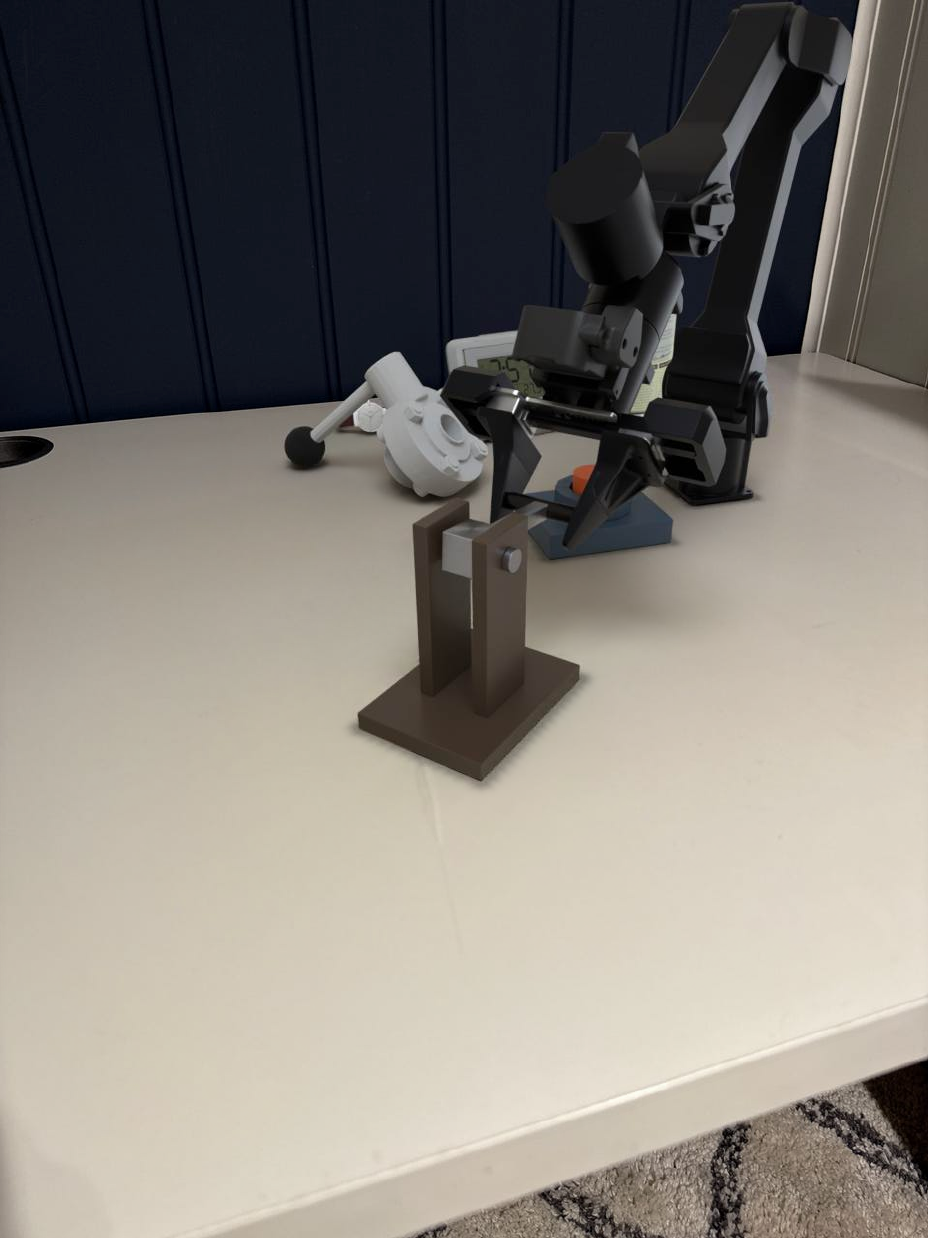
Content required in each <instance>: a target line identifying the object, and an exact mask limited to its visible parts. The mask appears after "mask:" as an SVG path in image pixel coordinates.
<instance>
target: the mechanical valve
mask: <svg viewBox="0 0 928 1238" xmlns="http://www.w3.org/2000/svg"><path fill="white" fill-rule="evenodd" d="M364 379H365V381H364V383H362V385H360V386H359V387H358V388H357V389H355V391H354V392H352V393H351V394H350V395H349V396H348V397H347V398H346V399H345V400H344V401H343V402H341V404H339V405H338V406H337V407H336V408H335V409H334V410H333V411H332V412H331V413H330V414H328V415H327V417H325V418H324V419H323V420H322V421H320V423H318V425H317V426H315V427H311V426H308V425H307V426H306V425H301V426H297V427H295V428H293V429H291V430H290V431H289V433H288V434H287V435H286V437H285V440H284V445H283V447H284V452H285V456H286V457H287V458H288V460H289V461H290V462H291V463H292V464H294V465H295V466H298V467H300V468H311V467H313V466H316V465H317V464H318V463H320V462H321V461H322V459H323V458H324V455H325V453H326V441H325V439H327V438H328V437H329V436H330V435H331V434H332V433H333V432H334V431H336V429H337V428H339V427H338V426H340V425H341V424H342V423H343V422H344V421H345V420H346V419H347V418H349V417H350V416H351V415H352V414H353V413H354V412H355V411H356V410H358V409H359V408H360V407H361V406H362V405H363V404H365V403H368V402H367V401H368V400H371V398H373V396H376V397H377V398H378V400H379V401H380V403H381V404H382V406H383V407H385V408H386V411H385V413H384V416H383V420H382V426H381V427H380V428H379V429H377V431H376V436H377V438H378V439H379V441H380V442H381V443H383V444H385V447H384V448H383V461H384V464H385V466H386V468H387V470H388V472H389V473H390V475H391V476H392V477H393V478H394V480H396V481H397V482H398V483H399V484H401V485H402V486H404V487H406V488H409V489H413V491H414V492H415V493H416V494H417V496H419V497H425V496H427V495H428V494H431V495H435V496H438V497H444V498H445V497H451V496H453V495H456V493H458V492H460V491H461V490H462V489H464V488H465V487H467V486H468V485H469V484H470V483H472V482H473V481H474V480H476V479H477V478H478V477H479V476H480V475H481V473H482V472H483V467H484V459H485V458H486V457H488V454H489V448H488V446H487V445H486V444H485V442H484V440H483V441H481V440H478V438H477V437H475V436H473V435H472V434H470V433H468V431H467V430H466V429H465V428H464V426H463V425H462V424H461V423H460V421H459V420H458V419H457V417H456V416H455V415H454V414H453V412H452V411H451V410H450V409H449V407H448V406H447V405H446V403H445V402H444V401H443V400H442V398H441V397H440V393H441V391H442V389H443V387H441V388H440V389H438V390H436V389H433V388H431V387H429V386H424V385H423V384H422V382H421V381H420V379H419V378H418V376H417V375H416V374H415V372H414V371H413V369H412V368H411V366H410V364H408V362H407V360H406V359H405V357H404V356H403V355H402V353H401V352H400V351H393V352H391V353H389V354H387V355H385V356H383V357H382V358H380V359H379V360H378V361H376V362H375V363H374V364H372V365H371V366H370V367H369V368H368V369H367V370H366V372H365V374H364Z"/></svg>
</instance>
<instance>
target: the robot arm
mask: <svg viewBox="0 0 928 1238" xmlns="http://www.w3.org/2000/svg"><path fill="white" fill-rule="evenodd" d="M723 35H724V36H723V39H722V42H721V43H720V45H719V47H718V48H717V50H716V52H715V54H714V56H713V57H712V59H711V61H710V63H709V64H708V66H707V68H706V70H705V72H704V73H703V75H702V77H701V78H700V81H699V82H698V85H697V86H696V88H695V90H694V91H693V93H692V95H691V96H690V98H689V100H688V103H687V104H686V105H685V108H684V109H683V110H682V113H681V114H680V117H678V120H677V121H676V124H675V125H674V126H673V128H672V129H671V130H670V131H669V132H667V133H665V134H663V135H662V136H660V137H658V138H656V139H654V140H652V141H651V142H649V143H647V144H645V145H643V146H642V147H641V149H639V148H638V143H637V139H636V135H635V133H634V132H623V131H622V132H621V131H620V132H617V131H616V132H612V131H610V132H609V131H607V132H606V131H603V132H602V133H601V135H600V137H599V140H598V142H597V145H595V146H592V147H590V148H588V149H585V150H583V151H581V152H579V153H578V154H576V155H574V156H573V157H571V158H570V159H569V160H568V161H566V162H565V163H564V164H563V165H562V166H561V167H560V168H559V170H557V171H555V172H553V173H552V175H551V177H550V178H549V181H548V183H547V187H546V191H545V201H546V205H547V208H548V211H549V213H550V215H551V217H552V220H553V222H554V224H555V227H556V229H557V231H558V234H559V235H560V238H561V240H562V242H563V243H562V244H563V245H564V247H565V250H566V252H567V254H568V257H569V258H570V261H571V263H572V266H573V268H574V270H575V272H576V274H577V275H578V276H579V277H580V278H581V279H583V280H584V281H585V282H587V283H589V284H591V283H592V285H591V287H590V290H589V291H588V292H587V294H586V297H585V299H584V301H583V303H582V306H581V308H580V310H574V309H565V308H557V307H550V306H542V305H541V306H540V305H533V304H526V305H523V308H522V313H521V316H520V319H519V324H518V328H517V330H518V332H517V336H516V340H515V344H514V349H513V353H512V357H511V358H512V359H513V360H515V361H517V362H520V361H521V360H522V361H523V362H525V363H527V364H529V365H531V366H533V367H534V370H533V372H532V374H531V376H530V377H531V379H532V380H533V382H534V384H535V385H536V387H541V388H543V389H544V391H545V392H544V395H543V397H542V399H541V398H536V397H530V396H525V395H524V394H523V393H521V392H519V391H517V390H516V388H515V386H514V385H513V383H512V382H511V380H510V379H509V377H508V376H507V374H506V372H502V371H496V370H490V369H484V368H478V367H472V366H466V365H463V366H461V367H458V368H455V369H453V370H452V372H451V373H450V374H449V373H448V376H447V378H446V380H445V383H444V385H443V387H442V388H443V389H442V388H441V389H442V391H441V393H440V397H441V398H442V400H443V401H444V402H445V403H446V405H447V406H448V407H449V409H450V410H451V411H452V412H453V414H454V415H455V416H456V417H457V419H458V420H459V421H460V423H461V424H462V425H463V426H464V428H465V429H466V430H467V431H468V433H470V434H472V435H473V436H475V437H477V438H481V439H485V440H484V441H489V440H490V441H489V442H491V441H492V442H491V443H492V460H493V462H492V463H493V466H492V467H493V468H492V484H491V499H490V512H489V524H492V523H494V522H496V521H498V520H499V519H501V518H503V517H505V516H507V515H509V514H511V513H513V512H515V511H513V510H509V509H507V507H506V499H507V496H508V494H509V493H510V492H517V493H521V494H524V492H525V491H526V488H527V486H528V485H529V482H530V481H531V479H532V477H533V475H534V473H535V471H536V469H537V468H538V465H539V463H540V461H541V460H542V457H543V456H542V454H541V453H540V451H539V450H538V448H537V447H536V445H535V444H534V442H533V441H532V440H533V438H534V435H536V434H535V432H536V429H537V428H540V429H545V430H550V431H551V432H555V433H561V434H566V435H570V436H575V437H582V438H586V439H591V440H597V441H599V444H598V450H597V456H596V461H595V464H594V465H595V467H594V469H593V471H592V473H591V475H590V478H589V480H588V482H587V484H586V486H585V488H584V490H583V492H582V495H581V497H580V499H579V501H578V503H577V505H576V507H575V509H574V512H573V514H572V516H571V518H570V520H569V523H568V525H567V528H566V532H565V535H564V538H563V541H562V546H563V547H564V548H565V550H567V551H572V550H574V549H575V548H576V547H577V546H578V545H579V544H580V543H581V542H582V541H583V540H584V539H586V538H587V537H588V536H589V535H590V534H591V533H592V532H593V531H594V530H595V529H596V528H598V527H599V526H600V525H601V524H602V523H603V522H604V521H605V520H606V519H607V518H608V517H610V516H611V515H612V514H613V513H614V512H615V511H616V510H618V509H619V508H620V507H622V506H623V505H624V504H626V503H627V502H628V501H630V500H631V499H632V498H634V497H635V496H636V495H638V494H639V493H641V492H643V491H645V490H646V489H648V488H650V487H653V488H662V487H663V485H664V484H666V485H667V486H668V487H670V488H671V489H672V490H673V491H675V493H677V494H678V495H679V496H681V497H682V498H683V499H684V500H686V501H687V502H688V503H689V504H691V505H704V504H711V503H718V502H719V503H720V502H724V501H725V502H727V501H734V500H741V499H749V498H750V499H751V498H753V497H754V494H755V492H754V490H753V489H751V488H750V487H748V486H747V485H746V484H747V483H746V482H747V476H748V469H749V463H750V456H751V450H752V444H753V443H752V442H754V441H755V440H756V439H764V438H765V439H766V438H768V436H769V433H770V426H771V420H772V411H773V408H774V407H773V405H774V404H773V399H772V396H771V391H770V386H769V381H768V376H767V374H766V372H765V370H766V365H767V360H768V355H767V352H766V349H765V345H764V342H763V339H762V336H761V332H760V330H759V327H758V321H759V315H760V311H761V308H762V304H763V300H764V296H765V292H766V288H767V284H768V279H769V275H770V272H771V268H772V263H773V260H774V257H775V252H776V248H777V243H778V239H779V236H780V232H781V227H782V224H783V221H784V216H785V211H786V208H787V205H788V200H789V196H790V193H791V189H792V184H793V181H794V177H795V172H796V168H797V164H798V162H799V161H798V160H799V157H800V154H801V153H800V152H801V149H802V146H804V144H805V143H806V142H807V141H808V139H810V137H811V136H812V135H813V134H814V133H815V132H816V130H817V129H818V128H819V127H820V126H821V125H822V124H823V122H825V120H826V119H827V118H828V117H829V115H830V114H831V110H832V107H833V105H834V100H835V98H836V94H837V91H838V88H839V86H841V85H843V84H844V83H845V81H846V78H847V76H848V73H849V70H850V66H851V59H852V54H853V53H852V52H853V37H852V34H851V33H850V31H849V30H848V29H847V28H846V27H845V25H844V24H843V23H842V22H841V21H840V19H839V18H838V17H826V16H823V15H819V14H815V13H812V12H809V11H808V10H807V9H806V8H805V7H804V6H803V5H801V4H799V5H795V3H794V2H793V1H784V2H780V1H779V2H765V3H750V4H747V3H746V4H742V5H741V6H740V8H733V9H732V10H731V12H729V15H728V17H727V19H726V24H725V28H724V33H723ZM740 152H741V154H740ZM739 154H740V158H739V161H738V166H737V170H736V175H735V179H734V183H733V186H732V185H731V175H730V173H731V171H732V168H733V167H734V164H735V162H736V160H737V158H738V156H739ZM718 242H719V247H718V250H717V254H716V259H715V263H714V266H713V267H714V268H713V271H712V275H711V280H710V284H709V288H708V293H707V296H706V299H705V305H704V308H703V311H702V313H701V314H699V316H698V317H697V318H696V319H695V321H693V322H692V324H691V325H690V326H689V325H684V326H682V327H681V328H680V330H679V331H678V333H677V334H676V335H675V340H674V347H673V356H672V360H671V362H669V364H668V366H667V368H666V370H665V373H664V376H663V381H662V398H659V397H657V398H656V399H654V400H652V401H651V402H649V404H648V406H647V409H646V411H645V413H644V416H643V417H642V416H637V415H631V414H630V412H631V409H632V407H633V404H634V402H635V400H636V397H637V395H638V392H639V390H640V388H641V385H642V384H647V385H650V384H651V381H652V379H653V376H654V374H655V370H654V368H653V365H652V362H651V361H652V359H653V356H654V354H655V352H656V349H657V347H658V344H659V342H660V340H661V337H662V335H663V332H664V330H665V328H666V325H667V323H668V320H669V318H670V316H671V314H676V315H677V316H679V315H681V313H682V311H683V308H684V307H683V306H684V297H683V293H682V289H683V288H684V284H685V283H684V282H685V281H684V276H683V274H682V269H681V267H680V265H679V263H678V261H677V260H676V259H675V257H674V256H679V257H691V258H692V257H693V258H702V257H703V258H705V257H707V256H709V255H710V254H711V253H712V252H713V250H714V249H715V247H716V246H717V243H718ZM533 434H534V435H533ZM664 470H665V471H666V473H667V474H665V475H664V474H663V473H664Z"/></svg>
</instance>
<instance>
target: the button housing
mask: <svg viewBox="0 0 928 1238" xmlns="http://www.w3.org/2000/svg"><path fill="white" fill-rule="evenodd" d="M572 489H573V474H570V475H568V476H565V477H563V478H561V479H559V480H557V482H556V484H555V486H554V489H552V490H550V489H549V490H543V491H534V492H527V493H526V492H525V493H524V494H525V495H529V496H533V497H537V498H542V499H546V500H550V501H554V502H558V503H562V504H567V505H571V506H575V507H576V505H577V503H578V501H579V499H580V497H581V495H579V494H577V493H574V492H573V490H572ZM673 524H674V519H673V517H671V516H670V515H669V514H668V513H667V512H666V511H665V510H663V508H661V507H660V506H659V505H658V504H657V503H656V502H654V501H653V500H652V499H651V498H649V497H648V496H647V495H646V494H645V493H644V492H643V491H642V492H641V493H639V494H638V495H636V496H635V497H634V498H632V499H631V500H630V501H628V502H627V503H626V504H624V505H623V506H622V507H620V508H619V509H618V510H616V511H615V512H614V513H613V514H612V515H611V516H610V517H608V518H607V519H606V520H605V521H604V522H603V523H602V524H601V525H600V526H599V527H598V528H596V529H595V530H594V531H593V532H592V533H591V534H590V535H589V536H588V537H587V538H586V539H584V540H583V541H582V542H581V543H580V544H579V545H578V546H577V547H576V548H575V549H574V550H572V551H567V550H565V548H564V547H563V546H562V541H563V538H564V535H565V532H566V528H567V525H568V524H564V523H560V522H556V521H552V520H548V519H546V520H544V521H543V522H541V523H539V524H537V525H536V526H534V527H532V528H530V529H529V530H528V534H529V535H530V536H531V537H532V539H533V540H534V541H535V542H536V544H538V547H540V549H541V550H542V552H543V553H544V554H545V556H546V557H547V558H548V559H549V560H553V559H554V560H555V559H561V558H568V557H576V556H577V557H578V556H583V555H591V554H597V553H605V552H611V551H619V550H627V549H634V548H640V547H647V546H654V545H662V544H669V543H672V535H673V534H672V533H673V526H674V525H673Z"/></svg>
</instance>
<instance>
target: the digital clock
mask: <svg viewBox="0 0 928 1238" xmlns="http://www.w3.org/2000/svg"><path fill="white" fill-rule="evenodd" d="M517 332H518V329H516V330H510V331H502V332H494V333H493V332H492V333H486V334H479V335H478V336H472V337H471V336H470V337H464V338H463V337H462V338H456V339H452V340H450V341H449V342H447V343H446V345H445V356H446V365H447V371H448V375H449V374H450V373H451V372H452V370H453V369H455V368H458V367H461V366H463V365H466V366H472V367H478V368H484V369H490V370H496V371H502V372H506V374H507V376H508V377H509V379H510V380H511V382H512V383H513V385H514V386H515V388H516V390H517V391H519V392H521V393H523V394H524V395H525V396H530V397H536V398H541V399H542V397H543V395H544V392H545V391H544V389H543V388H541V387H536V385H535V384H534V382H533V380H532V379H531V377H530V376H531V374H532V372H533V370H534V367H533V366H531V365H529V364H527V363H525V362H523V361H522V360H521V361H520V362H517V361H515V360H513V359H512V358H511V357H512V353H513V349H514V344H515V340H516V336H517ZM551 432H552V431H550V430H545V429H540V428H537V429H536V432H535V434H533V435H539V434H544V433H551ZM478 440H481V441H483V442H484V441H486V440H485V439H481V438H478ZM488 441H489V442H491V443H492V441H490V440H488Z"/></svg>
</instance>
